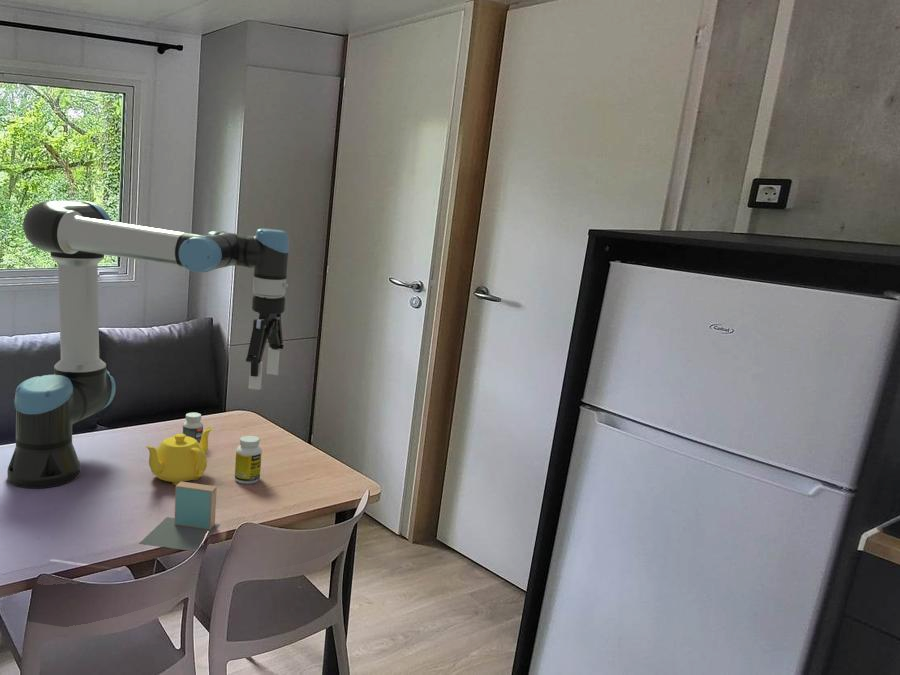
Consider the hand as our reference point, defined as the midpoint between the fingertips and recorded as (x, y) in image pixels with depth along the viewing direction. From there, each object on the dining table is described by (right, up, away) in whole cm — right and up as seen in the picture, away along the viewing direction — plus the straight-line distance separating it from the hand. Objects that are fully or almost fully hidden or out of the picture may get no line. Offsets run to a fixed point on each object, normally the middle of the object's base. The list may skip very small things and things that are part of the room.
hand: (263, 381), depth 173 cm
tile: (-10, -30, -18) cm, 37 cm away
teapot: (-21, -25, +4) cm, 33 cm away
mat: (-12, -31, -23) cm, 40 cm away
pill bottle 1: (-27, -19, +25) cm, 42 cm away
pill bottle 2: (-6, -26, +8) cm, 27 cm away
